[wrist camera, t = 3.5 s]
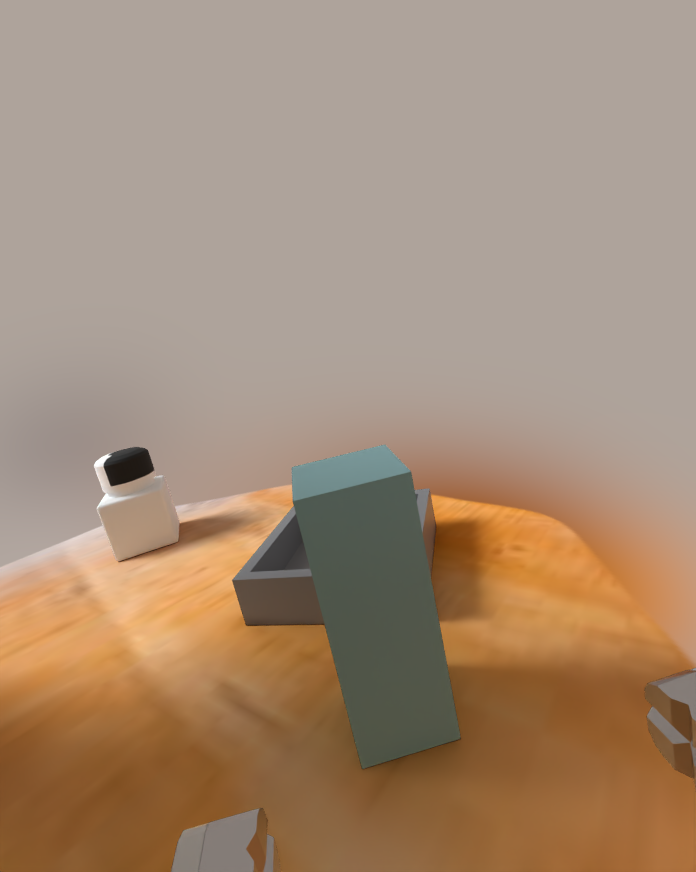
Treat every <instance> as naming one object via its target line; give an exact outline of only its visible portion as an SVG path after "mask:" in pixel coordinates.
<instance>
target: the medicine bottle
mask: <svg viewBox="0 0 696 872" xmlns="http://www.w3.org/2000/svg"><path fill="white" fill-rule="evenodd" d="M94 468H95V470H96V473H97V476H98V478H99V481H100V484H101V487H102V489H103V492H104V493H106V495H105V496H104V497H103V499H102V501H101V502H100V504H99V505H98V507H97V511H98V513H99V516H100V519H101V522H102V524H103V527H104V530H105V532H106V535H107V538H108V540H109V543H110V546H111V548H112V551H113V554H114V556H115V559H116V561H122V560H125V559H128V558H131V557H134V556H137V555H140V554H143V553H146V552H149V551H152V550H155V549H158V548H161V547H164V546H167V545H170V544H173V543H176V542H178V539H179V518H178V515H177V512H176V509H175V506H174V503H173V500H172V497H171V494H170V491H169V488H168V485H167V482H166V479H165V477H164V476H163V475H161V476H157V477H155V476H156V473H155V470H154V467H153V464H152V461H151V458H150V455H149V452H148V450H147V449H145V448H140V447H134V448H128V449H124V450H120V451H117V452H114V453H110V454H108V455H105V456H103V457H101V458H100V459H99V460H98V461H97V462H96V463H95V465H94Z"/></svg>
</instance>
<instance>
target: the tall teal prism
mask: <svg viewBox="0 0 696 872" xmlns="http://www.w3.org/2000/svg"><path fill="white" fill-rule="evenodd" d="M292 492H293V504H294V508H295V512H296V516H297V520H298V523H299V527H300V531H301V535H302V539H303V543H304V547H305V550H306V554H307V558H308V562H309V566H310V570H311V574H312V578H313V581H314V585H315V589H316V593H317V597H318V601H319V605H320V609H321V612H322V616H323V620H324V624H325V628H326V632H327V636H328V639H329V643H330V647H331V651H332V655H333V659H334V663H335V667H336V670H337V674H338V678H339V682H340V686H341V690H342V694H343V697H344V701H345V705H346V709H347V713H348V717H349V721H350V725H351V728H352V732H353V736H354V740H355V744H356V748H357V752H358V756H359V759H360V763H361V767H362V769H364V768H368V767H371V766H374V765H377V764H380V763H384V762H387V761H390V760H393V759H397V758H400V757H403V756H406V755H410V754H413V753H416V752H419V751H423V750H426V749H429V748H432V747H436V746H439V745H442V744H445V743H449V742H452V741H455V740H458V739H461V737H460V731H459V726H458V720H457V715H456V710H455V704H454V699H453V694H452V688H451V683H450V678H449V672H448V667H447V662H446V656H445V651H444V645H443V640H442V635H441V629H440V624H439V619H438V613H437V608H436V603H435V597H434V592H433V587H432V581H431V576H430V570H429V565H428V560H427V554H426V549H425V544H424V538H423V533H422V528H421V522H420V517H419V512H418V506H417V501H416V495H415V490H414V485H413V479H412V474H411V471H410V470H409V469H408V468H407V467H406V466H405V465H404V464H403V463H402V462H401V461H400V460H399V459H398V458H397V457H396V456H395V455H394V454H393V453H392V451H390V449H389V448H387V446H386V445H381V446H377V447H373V448H369V449H365V450H361V451H357V452H352V453H349V454H344V455H340V456H336V457H332V458H328V459H324V460H320V461H315V462H312V463H307V464H303V465H299V466H295V467H292Z"/></svg>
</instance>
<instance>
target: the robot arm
mask: <svg viewBox="0 0 696 872" xmlns="http://www.w3.org/2000/svg"><path fill="white" fill-rule="evenodd" d="M645 699H646V700H647V701H648V702H649V703H650V704H651V705H652V708H651V709H650V711H649V713H648V715H647V722H648V730H649V732H650V734H651V736H652V739H653V741H654V743H655V745H656V747H657V748H658V749H659V751H660V752H661V754H662V755H663V757H664V758H665V759H666V760H667V761H668V762H669V764H670V765H671V766H672V767H673V768H674V769H675V770H677V771H679V772H681V773H683V774H685V775H687V776H689V777H691V778H693V782H694V786H695V790H696V668H694V669H691V670H686V671H683V672H680V673H677V674H674V675H671V676H668V677H665V678H662V679H659V680H656V681H653V682H650V683H647V685H646V687H645ZM267 827H268V820H267V817H266V814H265V812H264V809H263V808H258V809H255V810H251V811H248V812H244V813H241V814H237V815H234V816H230V817H227V818H223V819H220V820H216V821H213V822H209V823H206V824H203V825H200V826H196V827H193V828H190V829H186V830H183V832H182V834H181V836H180V838H179V840H178V843H177V847H176V851H175V856H174V860H173V864H172V869H171V872H281V868H280V859H279V855H278V850H277V846H276V843H275V840H274V838H273V837H272V836H270V835H268V834H267Z"/></svg>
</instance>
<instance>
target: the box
mask: <svg viewBox="0 0 696 872" xmlns="http://www.w3.org/2000/svg"><path fill="white" fill-rule="evenodd" d="M415 495H416V501H417V506H418V512H419V517H420V522H421V528H422V533H423V538H424V544H425V549H426V554H427V560H428V565H429V570H430V576H431V573H432V563H433V553H434V543H435V533H436V522H435V516H434V511H433V505H432V499H431V494H430V489H421V490H415ZM232 581H233V585H234V588H235V591H236V594H237V598H238V601H239V604H240V607H241V611H242V614H243V617H244V620H245V624H246V625H296V624H324V620H323V616H322V612H321V609H320V605H319V601H318V597H317V593H316V589H315V585H314V581H313V578H312V574H311V570H310V566H309V562H308V558H307V554H306V550H305V547H304V543H303V539H302V535H301V531H300V527H299V523H298V520H297V516H296V512H295V508H294V506H293V507H292V509H291V510H290V511H289V512H288V513H287V515H286V516H285V517H284V518H283V520H282V521H281V522H280V523H279V524H278V526H277V527H276V528H275V529H274V530H273V532H272V533H271V534H270V535H269V536H268V538H267V539H266V540H265V541H264V542H263V544H262V545H261V546H260V547H259V548H258V550H257V551H256V552H255V553H254V554H253V556H252V557H251V558H250V559H249V561H248V562H247V563H246V564H245V565H244V567H243V568H242V569H241V570H240V571H239V573H238V574H237V575H236V576H235V577H234V579H233V580H232Z"/></svg>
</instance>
